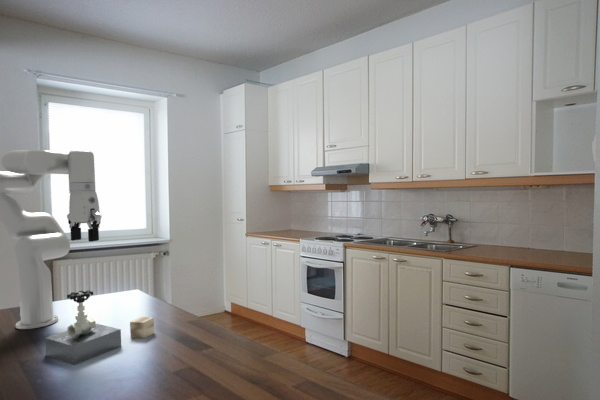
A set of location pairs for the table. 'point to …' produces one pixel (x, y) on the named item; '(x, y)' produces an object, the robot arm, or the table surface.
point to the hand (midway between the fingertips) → (84, 240)
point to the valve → (80, 315)
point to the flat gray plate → (83, 344)
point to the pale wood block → (142, 327)
